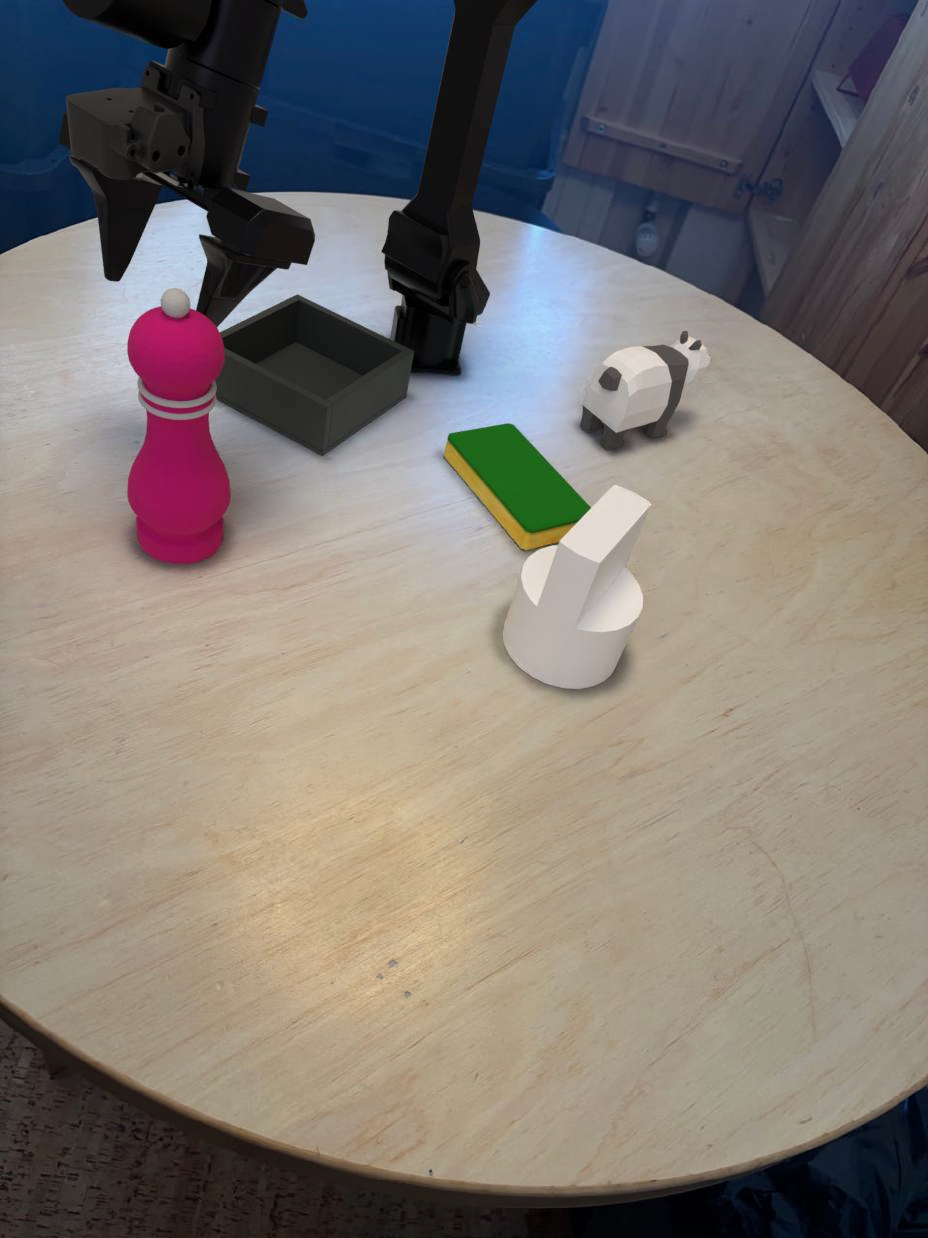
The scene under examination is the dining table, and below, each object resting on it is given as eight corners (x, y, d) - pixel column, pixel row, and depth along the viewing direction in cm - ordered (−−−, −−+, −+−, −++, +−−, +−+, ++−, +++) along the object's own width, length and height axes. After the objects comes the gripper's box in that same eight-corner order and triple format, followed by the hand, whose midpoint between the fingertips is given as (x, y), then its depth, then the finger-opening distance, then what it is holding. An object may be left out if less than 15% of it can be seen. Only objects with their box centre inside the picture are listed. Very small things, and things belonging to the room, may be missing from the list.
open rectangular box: (294, 340, 95) (297, 293, 92) (406, 396, 92) (414, 350, 88) (200, 391, 86) (200, 341, 82) (322, 456, 83) (327, 407, 79)
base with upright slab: (586, 709, 68) (639, 587, 59) (480, 646, 70) (517, 521, 62) (636, 640, 74) (691, 522, 65) (537, 585, 76) (578, 463, 68)
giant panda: (603, 457, 91) (634, 369, 84) (566, 425, 94) (594, 338, 87) (703, 426, 99) (739, 343, 92) (667, 397, 101) (699, 315, 95)
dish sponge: (506, 443, 90) (511, 421, 88) (589, 535, 82) (598, 513, 80) (441, 454, 86) (446, 432, 84) (522, 552, 79) (529, 529, 77)
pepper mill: (207, 580, 69) (208, 331, 56) (112, 553, 69) (90, 298, 56) (243, 522, 75) (252, 281, 61) (155, 497, 75) (144, 251, 61)
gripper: (6, -25, 56) (-35, 238, 62) (224, 88, 49) (152, 368, 56) (154, 33, 65) (104, 257, 72) (354, 135, 59) (279, 370, 65)
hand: (154, 308), depth 66 cm, fingers open, 9 cm apart
